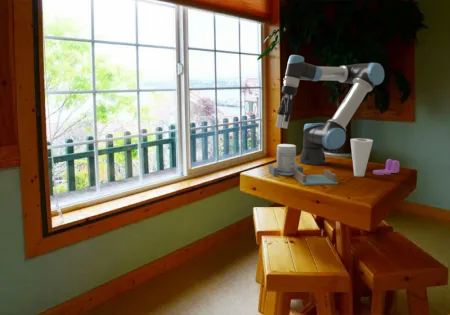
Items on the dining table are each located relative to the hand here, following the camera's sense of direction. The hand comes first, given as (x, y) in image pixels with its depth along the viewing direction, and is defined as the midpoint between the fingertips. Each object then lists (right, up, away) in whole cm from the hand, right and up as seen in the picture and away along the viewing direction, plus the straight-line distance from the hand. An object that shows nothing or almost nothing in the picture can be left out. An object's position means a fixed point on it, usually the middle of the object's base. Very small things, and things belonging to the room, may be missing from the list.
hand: (281, 127), depth 200 cm
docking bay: (+14, -26, -14) cm, 33 cm away
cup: (+39, -24, -3) cm, 46 cm away
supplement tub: (+2, -24, -1) cm, 24 cm away
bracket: (+54, -24, +3) cm, 59 cm away
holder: (+2, -23, -1) cm, 24 cm away
